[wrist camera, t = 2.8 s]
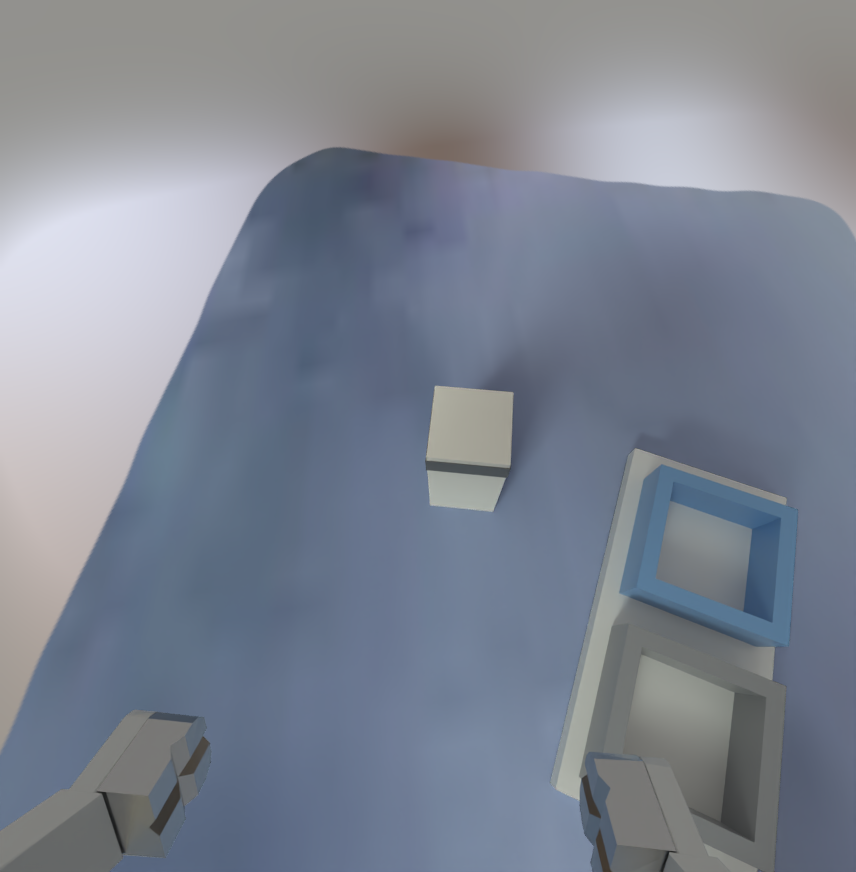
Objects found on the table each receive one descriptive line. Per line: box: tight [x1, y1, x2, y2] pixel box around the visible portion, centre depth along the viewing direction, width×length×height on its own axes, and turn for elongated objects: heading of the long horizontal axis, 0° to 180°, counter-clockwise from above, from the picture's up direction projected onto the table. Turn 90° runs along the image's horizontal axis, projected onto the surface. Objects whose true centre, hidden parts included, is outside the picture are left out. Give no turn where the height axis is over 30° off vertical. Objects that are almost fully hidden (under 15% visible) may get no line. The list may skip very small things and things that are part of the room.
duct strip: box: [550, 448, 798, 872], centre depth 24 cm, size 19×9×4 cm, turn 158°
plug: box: [425, 386, 513, 512], centre depth 26 cm, size 4×4×8 cm
